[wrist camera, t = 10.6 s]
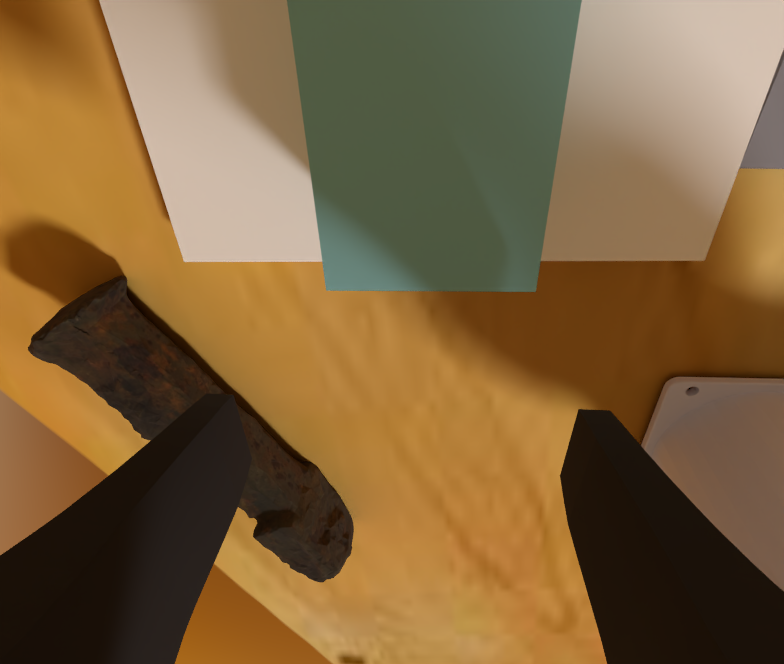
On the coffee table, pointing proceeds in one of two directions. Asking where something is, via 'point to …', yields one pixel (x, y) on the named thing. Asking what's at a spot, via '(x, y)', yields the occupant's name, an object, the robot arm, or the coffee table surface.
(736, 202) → the coffee table surface
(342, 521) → the hand tool
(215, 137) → the board
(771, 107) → the mark chip
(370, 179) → the block
